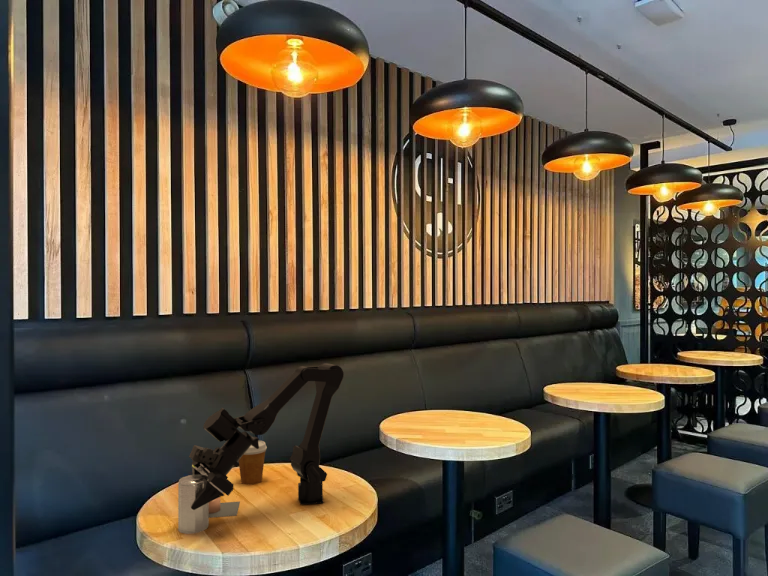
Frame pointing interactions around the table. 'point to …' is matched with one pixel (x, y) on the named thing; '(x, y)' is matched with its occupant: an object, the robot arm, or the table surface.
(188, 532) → the brushed metal canister
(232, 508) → the charcoal mat
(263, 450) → the disposable coffee cup
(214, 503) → the pink squat rounded piece
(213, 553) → the table surface
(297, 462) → the robot arm
